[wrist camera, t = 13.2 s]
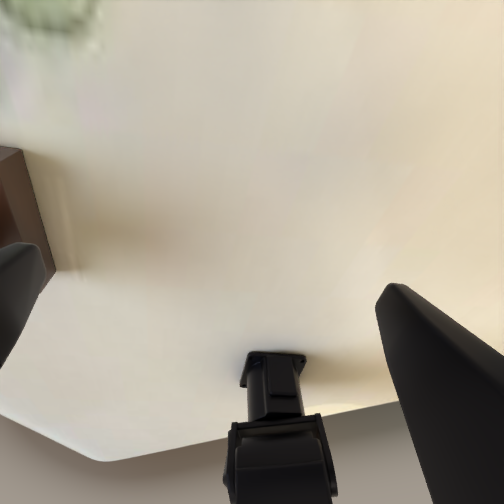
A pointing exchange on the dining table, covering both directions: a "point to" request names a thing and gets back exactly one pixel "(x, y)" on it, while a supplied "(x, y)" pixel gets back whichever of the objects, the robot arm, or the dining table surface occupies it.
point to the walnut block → (20, 208)
